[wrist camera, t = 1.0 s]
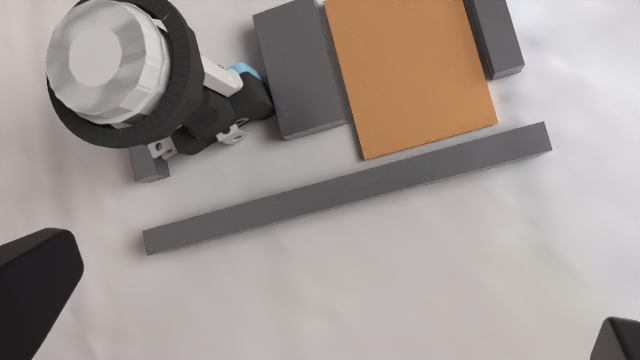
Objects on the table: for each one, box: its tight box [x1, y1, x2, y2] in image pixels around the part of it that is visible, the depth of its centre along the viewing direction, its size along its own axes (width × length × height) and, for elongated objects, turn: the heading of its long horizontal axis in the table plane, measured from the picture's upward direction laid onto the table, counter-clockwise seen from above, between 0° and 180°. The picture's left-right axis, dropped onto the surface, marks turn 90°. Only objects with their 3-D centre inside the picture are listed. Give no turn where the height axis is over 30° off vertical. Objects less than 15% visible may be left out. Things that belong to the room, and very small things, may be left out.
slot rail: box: [124, 0, 552, 256], centre depth 23 cm, size 19×10×2 cm, turn 104°
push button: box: [46, 0, 276, 160], centre depth 20 cm, size 7×5×10 cm
